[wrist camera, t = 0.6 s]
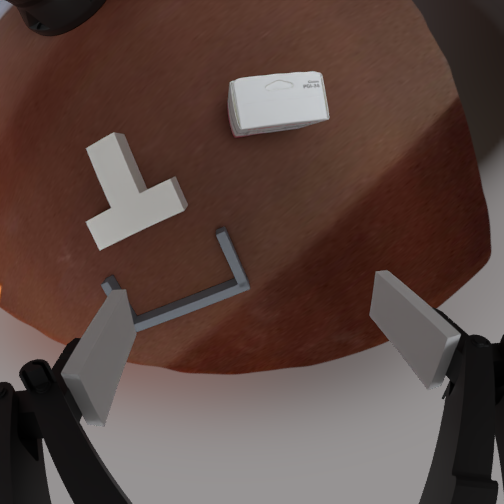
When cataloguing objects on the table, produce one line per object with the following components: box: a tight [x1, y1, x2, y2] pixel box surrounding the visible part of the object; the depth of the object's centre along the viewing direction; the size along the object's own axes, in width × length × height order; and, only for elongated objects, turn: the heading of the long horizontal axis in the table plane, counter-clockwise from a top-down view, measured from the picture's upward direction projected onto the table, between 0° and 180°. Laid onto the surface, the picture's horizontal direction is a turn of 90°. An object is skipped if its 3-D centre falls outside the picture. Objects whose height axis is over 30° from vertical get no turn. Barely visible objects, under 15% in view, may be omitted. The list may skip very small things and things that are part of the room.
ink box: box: [227, 71, 329, 138], centre depth 30 cm, size 9×5×12 cm, turn 99°
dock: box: [101, 226, 250, 332], centre depth 40 cm, size 8×18×2 cm, turn 112°
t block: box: [86, 132, 188, 250], centre depth 34 cm, size 12×12×4 cm
